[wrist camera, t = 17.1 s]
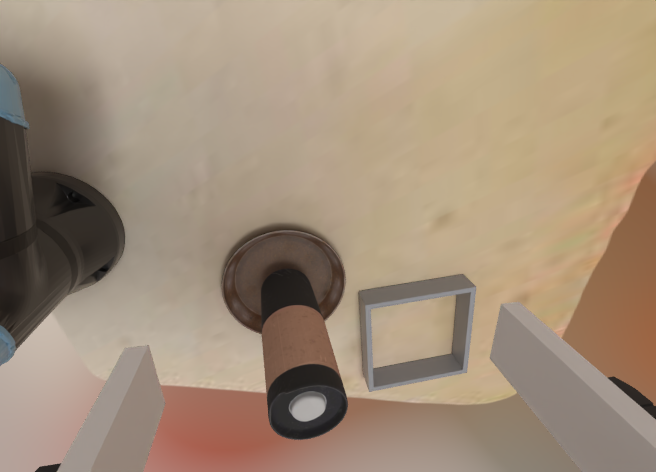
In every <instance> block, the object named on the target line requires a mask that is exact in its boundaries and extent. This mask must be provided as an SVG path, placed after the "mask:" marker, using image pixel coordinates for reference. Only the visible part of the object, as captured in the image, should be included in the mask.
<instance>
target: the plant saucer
mask: <svg viewBox="0 0 656 472" xmlns="http://www.w3.org/2000/svg"><path fill="white" fill-rule="evenodd" d="M281 269H295V270H298V271H300V272H302V273H303V274H305V275H306V276H307V278H308V279H309V281H310V283H311V286H312V289H313V291H314V294H315V297H316V300H317V302H318V305H319V308H320V311H321V314H322V316H323V319H324V321H326V320H327V319H328V318H329V317H330V316H331V315H332V314H333V312H334V311H335V310H336V308H337V307H338V305H339V304H340V302H341V299H342V297H343V294H344V290H345V284H346V277H345V270H344V267H343V264H342V262H341V260H340V258H339V256H338V255H337V253H336V252H335V251H334V249H333V248H332V247H331V246H330V245H328V244H327V243H326V242H325V241H323V240H321V239H320V238H318V237H316V236H313V235H311V234H308V233H304V232H300V231H293V230H282V231H274V232H270V233H266V234H263V235H260V236H258V237H256V238H254V239H252V240H250V241H249V242H247V243H246V244H244V245H243V246H242V247H240V248H239V249H238V250H237V251H236V252H235V253H234V255H233V256H232V257H231V259H230V260H229V262H228V264H227V266H226V268H225V271H224V274H223V279H222V294H223V299H224V302H225V304H226V307H227V309H228V310H229V312H230V313H231V315H232V316H233V317H234V318H235V319H236V320H237V321H238V322H239V323H240V324H242V325H243V326H244V327H246V328H248V329H250V330H252V331H254V332H256V333H259V334H262V322H261V288H262V284H263V282H264V281H265V279H266V278H267V277H268V276H269V275H270V274H272V273H273V272H275V271H278V270H281Z"/></svg>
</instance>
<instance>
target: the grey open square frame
mask: <svg viewBox="0 0 656 472" xmlns="http://www.w3.org/2000/svg"><path fill="white" fill-rule="evenodd" d="M475 294H476V286H475V285H474V284H473V283H472V282H471V281H470V280H469V279H468V278H466V277H465V276H464V275H463V274H461V275H454V276H448V277H442V278H436V279H430V280H424V281H418V282H411V283H405V284H399V285H393V286H387V287H381V288H374V289H368V290H362V291H359V305H360V324H361V342H362V361H363V375H364V378H365V381H366V384H367V387H368V390H369V392H371V391H376V390H381V389H386V388H391V387H396V386H401V385H406V384H411V383H416V382H422V381H427V380H432V379H437V378H442V377H447V376H452V375H457V374H462V373H467V368H468V358H469V349H470V340H471V331H472V322H473V312H474V303H475ZM451 295H457V297H456V309H455V321H454V334H453V346H452V354H448V355H443V356H438V357H432V358H427V359H422V360H417V361H411V362H406V363H401V364H395V365H390V366H385V367H380V368H374V369H373V357H372V330H371V309H374V308H380V307H386V306H392V305H398V304H403V303H409V302H415V301H421V300H427V299H433V298H439V297H445V296H451Z"/></svg>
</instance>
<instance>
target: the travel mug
mask: <svg viewBox="0 0 656 472" xmlns="http://www.w3.org/2000/svg"><path fill="white" fill-rule="evenodd" d="M261 322H262V343H263V355H264V368H265V380H266V392H267V404H268V416H269V422H270V425H271V427H272V429H273V430H274V431H275V432H276V433H277V434H278V435H280V436H282V437H285V438H288V439H294V440H303V439H310V438H314V437H317V436H320V435H323V434H325V433H327V432H329V431H330V430H332V429H333V428H334V427H336V426H337V425H338V424H339V423H340V422H341V421H342V419H343V418H344V416H345V414H346V411H347V407H348V402H347V397H346V393H345V390H344V387H343V383H342V380H341V377H340V373H339V370H338V366H337V363H336V360H335V356H334V353H333V349H332V346H331V343H330V339H329V336H328V332H327V329H326V326H325V322H324V319H323V316H322V314H321V311H320V308H319V305H318V302H317V300H316V297H315V294H314V291H313V289H312V286H311V283H310V281H309V279H308V278H307V276H306V275H305V274H303V273H302V272H300V271H298V270H295V269H281V270H278V271H275V272H273V273H272V274H270V275H269V276H268V277H267V278H266V279H265V281H264V282H263V284H262V288H261Z"/></svg>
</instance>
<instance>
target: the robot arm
mask: <svg viewBox="0 0 656 472" xmlns="http://www.w3.org/2000/svg"><path fill="white" fill-rule="evenodd" d="M26 129H29V123H28V122H27V121H26V120H25V117H24V111H23V105H22V98H21V92H20V87H19V84H18V82H17V80H16V78H15V76H14V75H13V74H12V73H11V72H10V71H9V70H8V69H7V68H6V67H5V66H3V65H2V64H0V365H2V364H4V363H5V362H7V361H9V360H10V359H11V358H12V356H13V355H14V353H15V351H16V349H17V348H18V347H19V346H20V345H21V344H22V343H23V342H24V341H25V340H26V339H27V338H28V336H29V335H30V334H31V333H32V332H33V331H34V330H35V329H36V328H37V327H38V326H39V325H40V323H41V322H42V321H43V320H44V319H45V318H46V317H47V316H48V315H49V314H50V313H51V312H52V311H53V310H54V309H55V308H56V307H57V305H58V304H59V303H60V302H61V301H62V300H63V299H64V298H65V297H66V296H67V295H69V294H72V293H74V292H76V291H79V290H81V289H84V288H86V287H88V286H91V285H93V284H95V283H96V282H98V281H99V280H101V279H102V278H104V277H105V276H106V275H107V274H108V273H109V272H110V271H111V269H112V268H113V267H114V266H115V265H116V263H117V262H118V261H119V259H120V257H121V255H122V252H123V249H124V244H125V235H124V229H123V225H122V222H121V219H120V217H119V215H118V214H117V212H116V210H115V209H114V207H113V206H112V205H111V203H110V202H109V201H108V200H107V199H106V198H105V197H104V196H103V195H102V194H100V193H99V192H98V191H97V190H95V189H94V188H92V187H91V186H89V185H88V184H86V183H84V182H82V181H80V180H78V179H75V178H72V177H69V176H66V175H62V174H58V173H51V172H34V173H31V169H30V160H29V151H28V142H27V133H26ZM490 359H491V361H492V362H493V363H494V364H495V366H496V367H497V368H498V369H499V370H500V372H501V373H502V374H503V375H504V377H505V378H506V379H507V380H508V381H509V383H510V384H511V385H512V386H513V388H514V389H515V390H516V391H517V393H518V394H519V395H520V396H521V397H522V399H523V400H524V401H525V402H526V404H527V405H528V406H529V407H530V409H531V410H532V411H533V412H534V413H535V415H536V416H537V417H538V418H539V420H540V421H541V422H542V423H543V425H544V426H545V427H546V428H547V429H548V431H549V432H550V433H551V434H552V436H553V437H554V438H555V439H556V440H557V442H558V443H559V444H560V445H561V447H562V448H563V449H564V450H565V452H566V453H567V454H568V455H569V457H570V458H571V459H572V460H573V461H574V463H575V464H576V465H577V466H578V468H579V469H580V470H581V471H582V472H656V406H654V405H653V403H652V402H651V401H650V400H648V399H647V398H646V397H645V396H643V395H642V394H641V393H640V392H639V391H638V390H636V389H635V388H633V387H632V386H630V385H628V384H626V383H624V382H623V381H621V380H619V379H617V378H615V377H609V378H607V377H606V376H604V375H603V374H602V373H601V372H600V371H599V370H598V369H596V368H595V367H594V366H593V365H592V364H590V363H589V362H588V361H587V360H586V359H585V358H584V357H582V356H581V355H580V354H579V353H578V352H577V351H575V350H574V349H573V348H572V347H571V346H570V345H568V344H567V343H566V342H565V341H564V340H563V339H562V338H560V337H559V336H558V335H557V334H556V333H555V332H553V331H552V330H551V329H550V328H549V327H548V326H546V325H545V324H544V323H543V322H542V321H541V320H539V319H538V318H537V317H536V316H535V315H534V314H532V313H531V312H530V311H529V310H528V309H527V308H525V307H524V306H523V305H522V304H521V303H520V302H513V303H505V304H501V307H500V311H499V316H498V321H497V326H496V330H495V335H494V340H493V345H492V350H491V354H490ZM164 406H165V400H164V397H163V394H162V390H161V387H160V383H159V380H158V376H157V373H156V369H155V366H154V362H153V359H152V355H151V352H150V348H149V345H147V346H138V347H130V348H125V349H124V351H123V352H122V354H121V356H120V358H119V360H118V361H117V363H116V365H115V367H114V369H113V371H112V372H111V374H110V376H109V378H108V380H107V381H106V383H105V385H104V387H103V389H102V391H101V392H100V394H99V396H98V398H97V400H96V402H95V403H94V405H93V407H92V409H91V411H90V413H89V414H88V416H87V418H86V420H85V422H84V423H83V425H82V427H81V429H80V431H79V432H78V434H77V436H76V438H75V440H74V441H73V444H72V445H71V447H70V449H69V451H68V452H67V454H66V456H65V458H64V460H63V462H62V463H61V464H55V465H48V466H42V467H39V468H38V469H37V470H36V471H35V472H143V471H144V468H145V464H146V462H147V459H148V455H149V452H150V449H151V446H152V443H153V440H154V437H155V434H156V431H157V428H158V425H159V421H160V418H161V415H162V412H163V409H164Z"/></svg>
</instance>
